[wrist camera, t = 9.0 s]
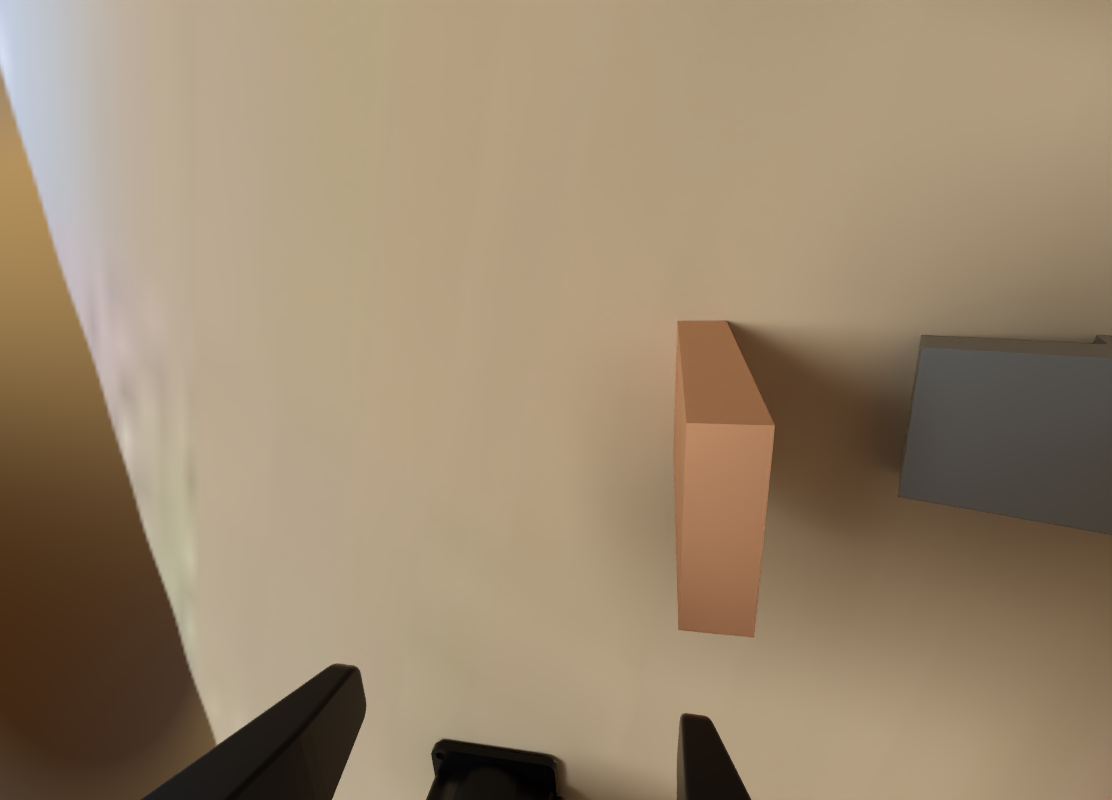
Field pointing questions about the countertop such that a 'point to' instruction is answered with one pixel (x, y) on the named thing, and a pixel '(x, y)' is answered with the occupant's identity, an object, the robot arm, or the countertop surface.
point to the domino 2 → (1012, 429)
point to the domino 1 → (718, 481)
